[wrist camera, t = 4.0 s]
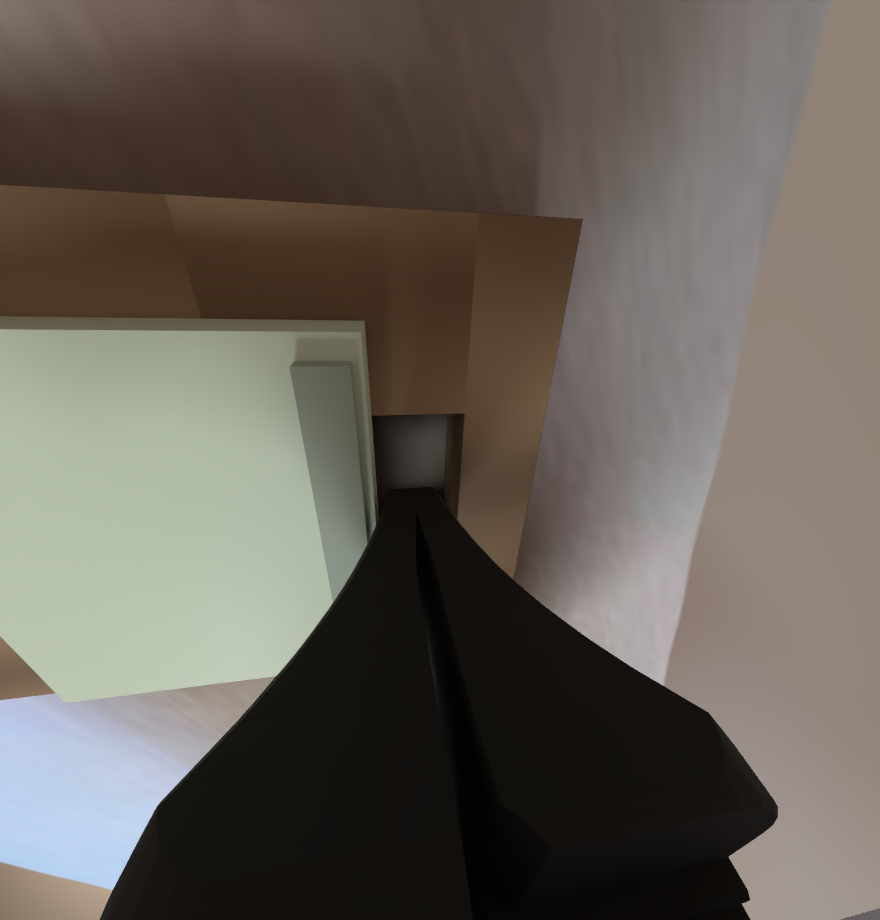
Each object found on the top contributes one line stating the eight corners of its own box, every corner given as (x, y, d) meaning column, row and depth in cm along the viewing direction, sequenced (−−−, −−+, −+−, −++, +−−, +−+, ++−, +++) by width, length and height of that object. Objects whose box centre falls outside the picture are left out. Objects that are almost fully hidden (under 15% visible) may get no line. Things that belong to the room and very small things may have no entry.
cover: (386, 620, 12) (387, 674, 11) (102, 651, 11) (53, 718, 9) (364, 320, 7) (359, 336, 6) (-154, 314, 6) (-355, 331, 4)
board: (485, 588, 16) (501, 638, 14) (44, 633, 13) (-21, 702, 11) (535, 230, 9) (582, 219, 7) (-343, 183, 7) (-693, 144, 4)
